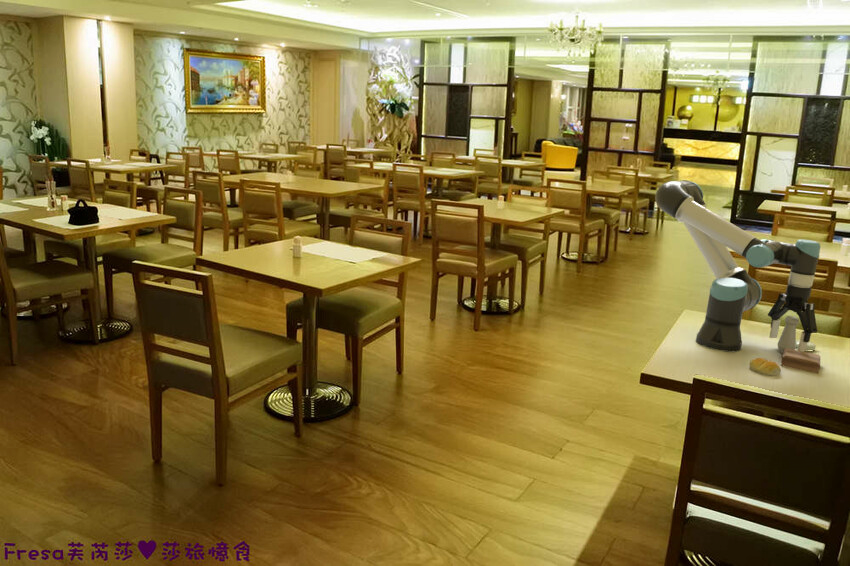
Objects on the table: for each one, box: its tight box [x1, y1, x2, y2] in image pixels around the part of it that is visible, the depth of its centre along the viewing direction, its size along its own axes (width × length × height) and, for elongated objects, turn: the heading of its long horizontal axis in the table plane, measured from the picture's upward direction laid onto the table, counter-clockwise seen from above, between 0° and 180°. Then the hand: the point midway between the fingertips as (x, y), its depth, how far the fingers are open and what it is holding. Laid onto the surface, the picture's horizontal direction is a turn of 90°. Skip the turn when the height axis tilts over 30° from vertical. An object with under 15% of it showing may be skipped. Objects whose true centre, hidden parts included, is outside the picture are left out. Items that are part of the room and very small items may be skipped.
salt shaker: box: [777, 315, 800, 354], centre depth 245 cm, size 6×6×13 cm
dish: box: [796, 339, 817, 350], centre depth 254 cm, size 7×7×2 cm
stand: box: [780, 348, 821, 374], centre depth 234 cm, size 11×11×4 cm
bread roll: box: [749, 357, 782, 377], centre depth 225 cm, size 8×9×4 cm
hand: (787, 343), depth 246 cm, fingers open, 13 cm apart
